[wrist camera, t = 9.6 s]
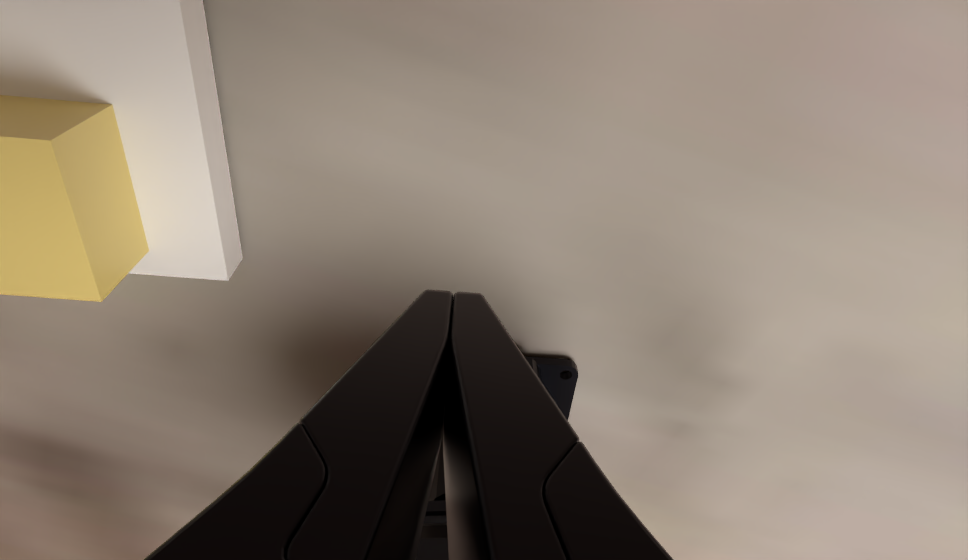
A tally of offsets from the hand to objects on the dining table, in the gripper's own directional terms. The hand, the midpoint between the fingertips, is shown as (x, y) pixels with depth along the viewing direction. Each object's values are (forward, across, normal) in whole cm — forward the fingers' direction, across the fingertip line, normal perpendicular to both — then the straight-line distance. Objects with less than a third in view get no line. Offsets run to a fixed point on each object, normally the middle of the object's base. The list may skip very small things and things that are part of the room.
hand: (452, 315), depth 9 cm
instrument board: (+12, +18, 0) cm, 22 cm away
